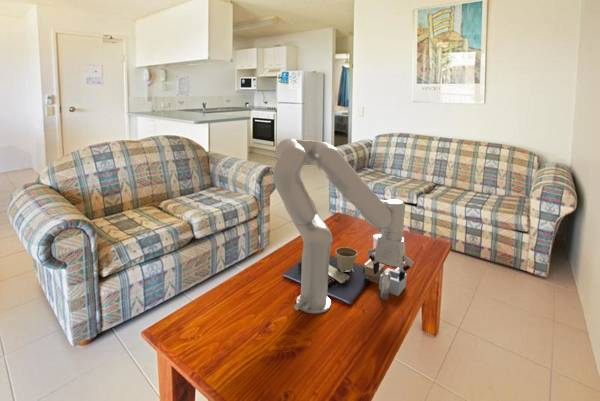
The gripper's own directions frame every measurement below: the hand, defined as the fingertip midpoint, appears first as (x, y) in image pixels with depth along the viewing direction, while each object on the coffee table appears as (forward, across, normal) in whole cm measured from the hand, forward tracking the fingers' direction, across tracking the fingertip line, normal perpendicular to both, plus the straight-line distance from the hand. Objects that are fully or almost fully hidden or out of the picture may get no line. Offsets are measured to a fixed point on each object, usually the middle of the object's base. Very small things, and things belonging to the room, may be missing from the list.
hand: (388, 276), depth 136 cm
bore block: (+9, -1, +7) cm, 12 cm away
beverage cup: (+9, -18, +33) cm, 39 cm away
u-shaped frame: (+9, -10, +21) cm, 25 cm away
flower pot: (+9, -23, +9) cm, 26 cm away
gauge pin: (+9, -1, -1) cm, 9 cm away
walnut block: (+9, -10, +10) cm, 17 cm away
